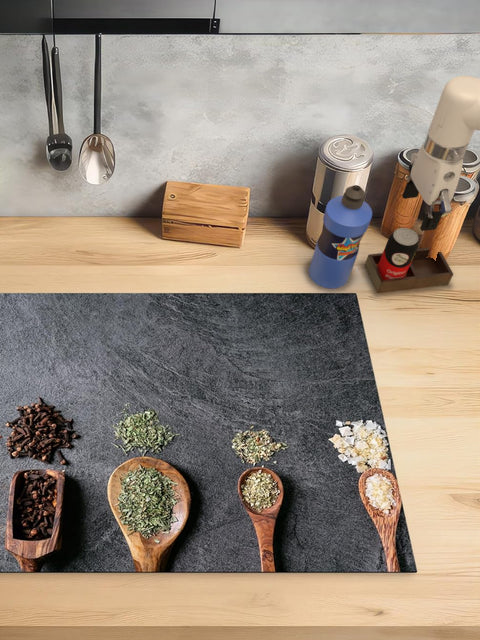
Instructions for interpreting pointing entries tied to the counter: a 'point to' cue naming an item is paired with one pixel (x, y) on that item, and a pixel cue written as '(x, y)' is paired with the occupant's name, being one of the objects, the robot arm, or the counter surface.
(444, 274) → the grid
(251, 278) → the counter surface
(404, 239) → the beverage can
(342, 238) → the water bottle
